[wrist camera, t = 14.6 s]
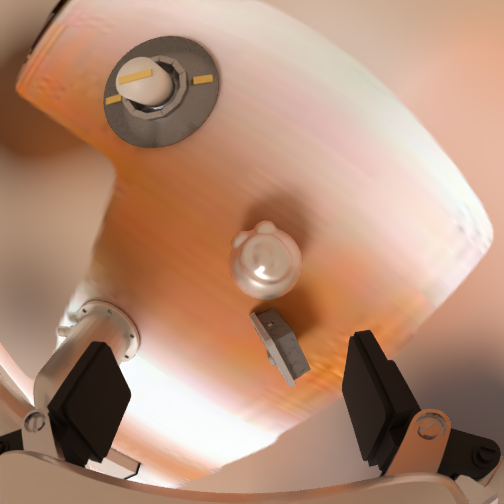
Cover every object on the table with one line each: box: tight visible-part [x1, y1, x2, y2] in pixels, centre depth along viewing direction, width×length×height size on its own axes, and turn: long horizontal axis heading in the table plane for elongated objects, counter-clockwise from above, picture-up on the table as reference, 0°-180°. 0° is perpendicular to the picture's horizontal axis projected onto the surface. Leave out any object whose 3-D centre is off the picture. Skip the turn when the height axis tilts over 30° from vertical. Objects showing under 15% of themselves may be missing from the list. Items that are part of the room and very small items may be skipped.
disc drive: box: [88, 448, 141, 480], centre depth 59 cm, size 18×22×5 cm
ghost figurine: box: [229, 221, 302, 300], centre depth 33 cm, size 9×10×10 cm
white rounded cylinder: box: [116, 57, 175, 108], centre depth 26 cm, size 5×5×8 cm
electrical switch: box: [249, 308, 311, 387], centre depth 38 cm, size 9×5×9 cm, turn 24°
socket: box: [104, 36, 219, 148], centre depth 30 cm, size 16×16×2 cm
